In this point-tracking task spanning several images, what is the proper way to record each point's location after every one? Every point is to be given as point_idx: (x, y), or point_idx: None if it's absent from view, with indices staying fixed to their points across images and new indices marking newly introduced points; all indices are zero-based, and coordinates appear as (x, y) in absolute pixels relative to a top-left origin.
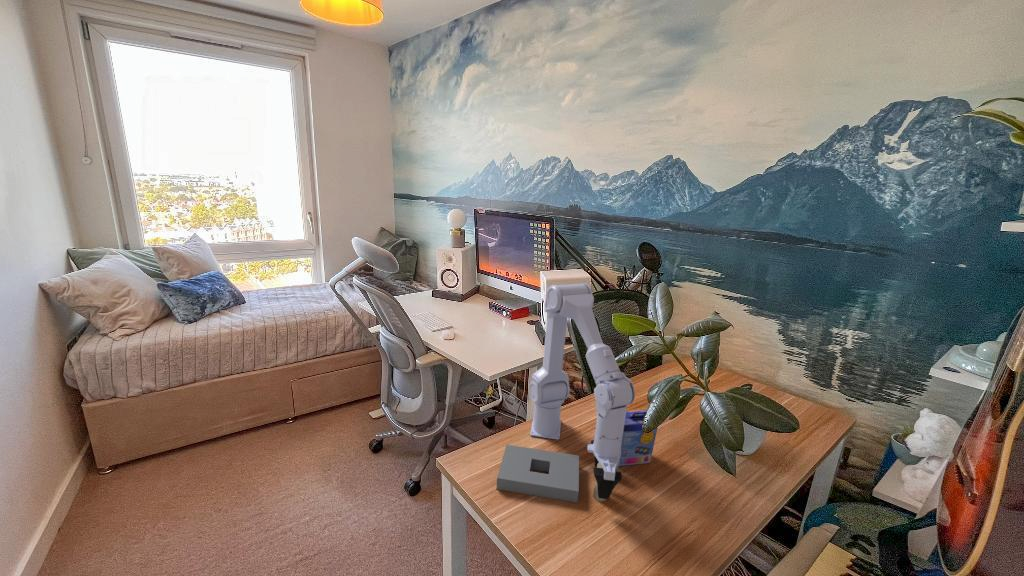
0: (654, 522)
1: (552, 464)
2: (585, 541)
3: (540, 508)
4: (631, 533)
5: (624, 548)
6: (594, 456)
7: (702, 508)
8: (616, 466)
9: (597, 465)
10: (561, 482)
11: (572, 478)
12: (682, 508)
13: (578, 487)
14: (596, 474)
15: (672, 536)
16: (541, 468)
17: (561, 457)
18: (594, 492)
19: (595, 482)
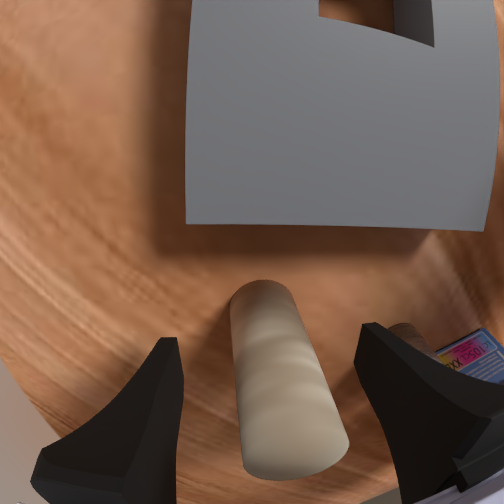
0: (182, 441)
1: (414, 56)
2: (7, 242)
3: (118, 19)
4: (108, 389)
5: (44, 361)
6: (423, 381)
7: (264, 497)
8: None
9: (303, 429)
10: (250, 99)
11: (306, 181)
12: (256, 480)
13: (225, 222)
14: (36, 483)
15: None
16: (401, 17)
17: (472, 126)
18: (254, 297)
19: (267, 333)
